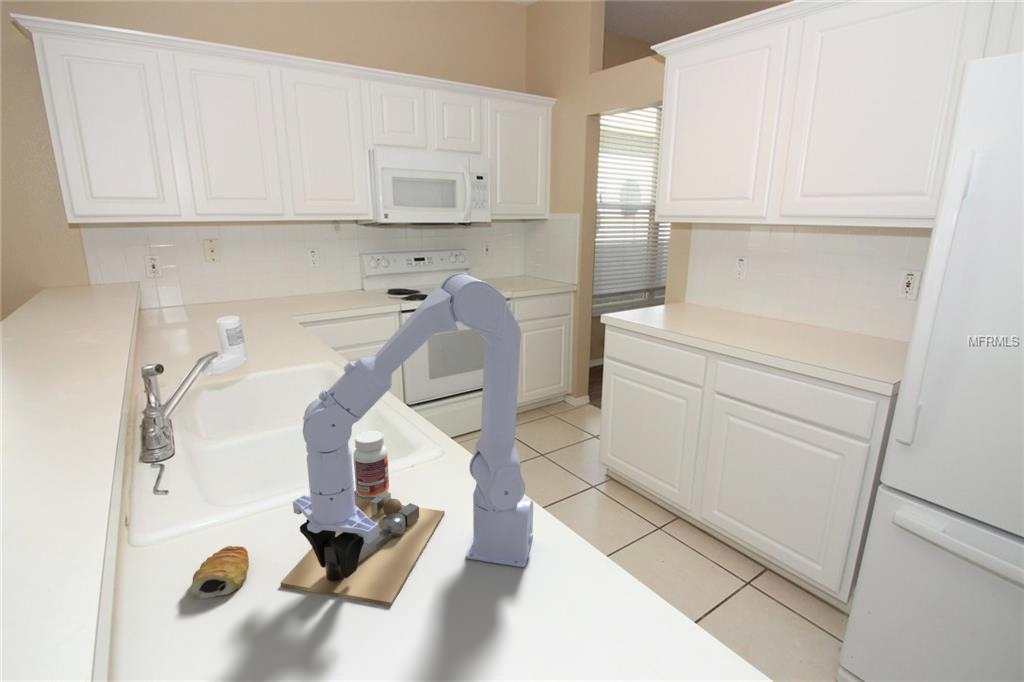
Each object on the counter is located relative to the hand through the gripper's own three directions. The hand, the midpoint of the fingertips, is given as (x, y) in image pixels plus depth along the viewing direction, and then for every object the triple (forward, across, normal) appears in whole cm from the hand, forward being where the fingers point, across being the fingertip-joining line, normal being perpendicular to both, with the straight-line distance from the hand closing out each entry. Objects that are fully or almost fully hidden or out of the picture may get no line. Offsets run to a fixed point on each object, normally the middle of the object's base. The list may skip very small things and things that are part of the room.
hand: (338, 568), depth 72 cm
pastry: (+3, -15, -8) cm, 17 cm away
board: (+2, -1, +8) cm, 9 cm away
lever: (+1, 0, +8) cm, 8 cm away
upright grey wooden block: (+2, -6, +15) cm, 17 cm away
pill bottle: (+2, -13, +21) cm, 25 cm away
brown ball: (0, -3, +15) cm, 16 cm away
